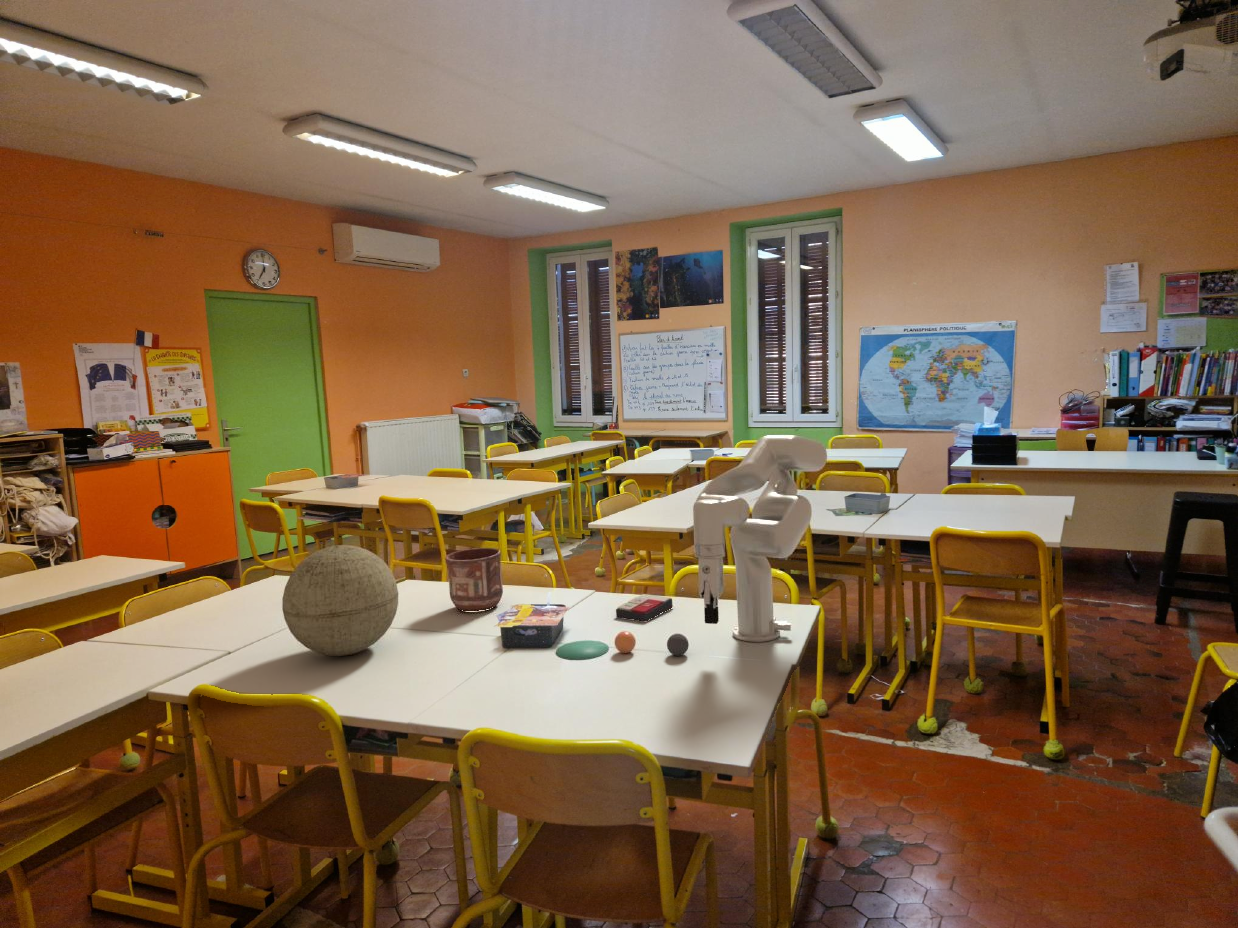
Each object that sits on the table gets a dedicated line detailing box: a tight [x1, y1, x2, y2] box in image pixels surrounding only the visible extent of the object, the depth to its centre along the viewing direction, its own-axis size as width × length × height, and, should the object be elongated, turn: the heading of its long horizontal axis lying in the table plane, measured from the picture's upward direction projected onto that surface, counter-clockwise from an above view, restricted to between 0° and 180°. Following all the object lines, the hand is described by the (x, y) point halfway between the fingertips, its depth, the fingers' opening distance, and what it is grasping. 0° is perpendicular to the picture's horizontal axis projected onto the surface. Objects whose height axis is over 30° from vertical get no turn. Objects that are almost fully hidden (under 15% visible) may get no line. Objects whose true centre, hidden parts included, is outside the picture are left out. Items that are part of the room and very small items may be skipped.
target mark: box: [555, 640, 610, 661], centre depth 200 cm, size 14×14×1 cm
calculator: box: [615, 593, 674, 622], centre depth 229 cm, size 11×4×15 cm
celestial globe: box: [281, 544, 399, 657], centre depth 207 cm, size 30×30×30 cm
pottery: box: [444, 547, 504, 611], centre depth 245 cm, size 18×18×18 cm
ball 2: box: [666, 633, 690, 657], centre depth 191 cm, size 6×6×6 cm
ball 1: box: [614, 630, 637, 654], centre depth 196 cm, size 6×6×6 cm
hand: (711, 622), depth 187 cm, fingers closed
